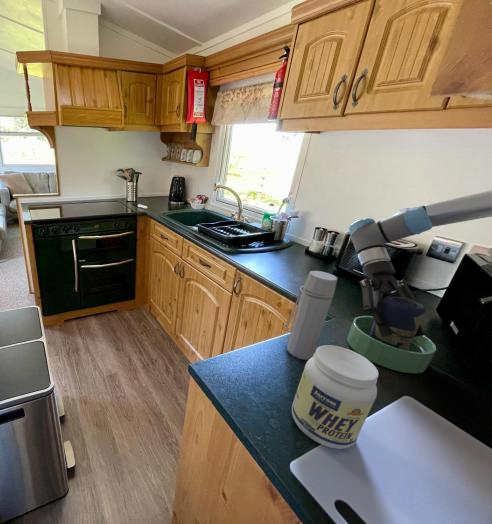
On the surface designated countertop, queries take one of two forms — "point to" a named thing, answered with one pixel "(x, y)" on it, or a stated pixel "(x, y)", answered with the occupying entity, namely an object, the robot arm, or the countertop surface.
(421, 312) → the canister
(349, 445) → the supplement tub
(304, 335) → the water bottle
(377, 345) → the green pet bowl
